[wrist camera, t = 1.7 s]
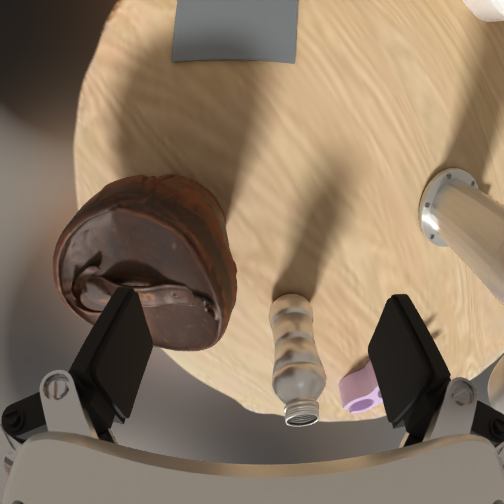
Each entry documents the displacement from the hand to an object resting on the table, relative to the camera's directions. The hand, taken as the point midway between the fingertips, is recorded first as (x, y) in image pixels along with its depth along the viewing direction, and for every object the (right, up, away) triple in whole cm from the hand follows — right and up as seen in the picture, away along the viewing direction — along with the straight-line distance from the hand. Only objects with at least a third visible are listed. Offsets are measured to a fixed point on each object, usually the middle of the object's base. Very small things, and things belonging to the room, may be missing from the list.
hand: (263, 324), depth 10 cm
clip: (+28, -23, +43) cm, 56 cm away
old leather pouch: (-11, +7, +26) cm, 29 cm away
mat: (-2, +30, +12) cm, 33 cm away
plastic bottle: (+5, -5, +33) cm, 34 cm away
